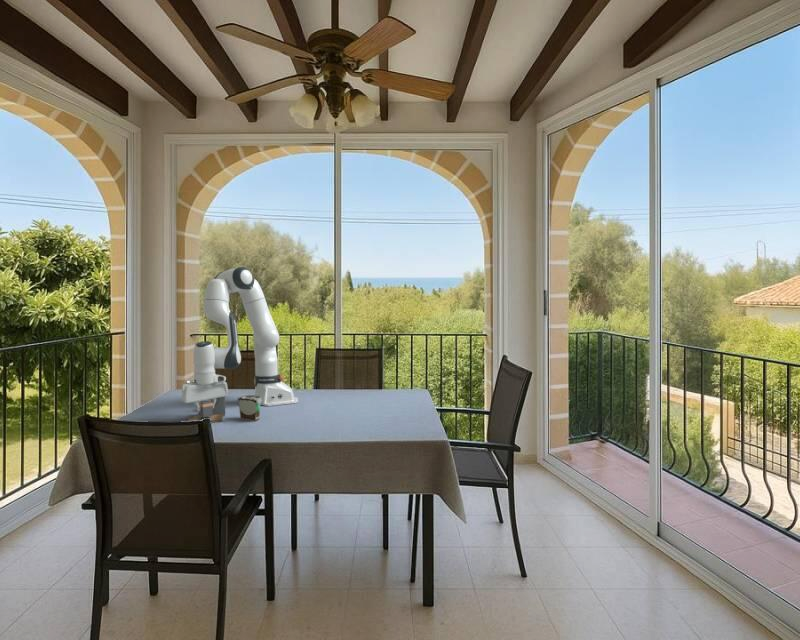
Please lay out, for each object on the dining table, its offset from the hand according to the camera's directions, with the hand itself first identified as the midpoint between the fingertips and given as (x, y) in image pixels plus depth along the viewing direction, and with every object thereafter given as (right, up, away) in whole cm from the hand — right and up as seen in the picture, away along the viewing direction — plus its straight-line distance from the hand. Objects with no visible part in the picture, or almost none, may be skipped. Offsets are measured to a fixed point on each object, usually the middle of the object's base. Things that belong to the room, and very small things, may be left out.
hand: (205, 409), depth 235 cm
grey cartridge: (-6, -4, +20) cm, 21 cm away
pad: (0, -5, 0) cm, 5 cm away
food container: (+20, -5, +4) cm, 21 cm away
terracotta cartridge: (0, -3, 0) cm, 3 cm away
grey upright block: (+2, -4, +11) cm, 12 cm away
